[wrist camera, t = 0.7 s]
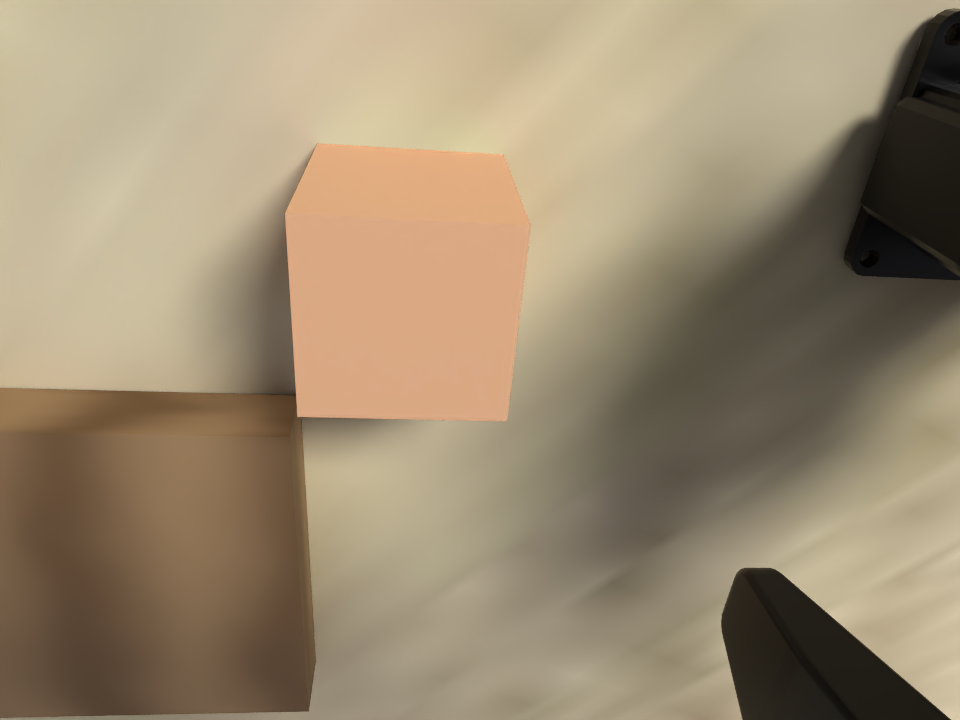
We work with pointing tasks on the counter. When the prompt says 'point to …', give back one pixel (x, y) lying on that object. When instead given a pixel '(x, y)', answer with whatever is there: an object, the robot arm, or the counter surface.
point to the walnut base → (153, 554)
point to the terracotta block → (405, 283)
